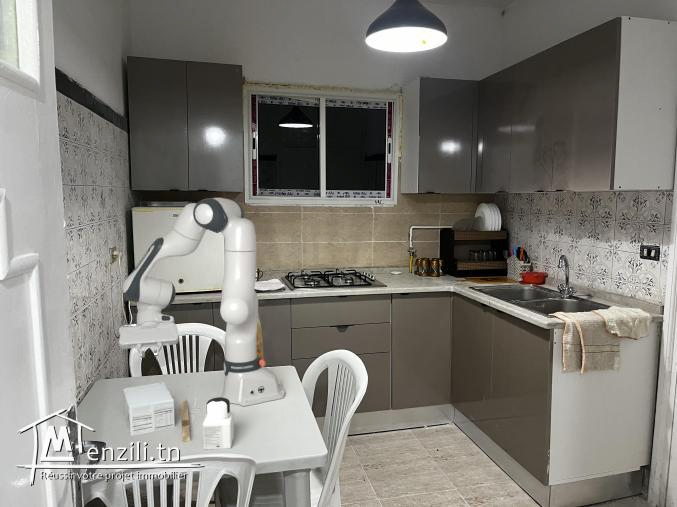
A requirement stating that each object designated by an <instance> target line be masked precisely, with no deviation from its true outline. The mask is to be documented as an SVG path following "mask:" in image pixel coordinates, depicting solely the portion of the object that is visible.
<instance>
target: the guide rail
mask: <svg viewBox="0 0 677 507" xmlns="http://www.w3.org/2000/svg"><path fill="white" fill-rule="evenodd" d="M188 408H189V407H188V400H181V401H180V415H181V416H180V417H181V433H182V434H181V435H182V442H183V443H184V441H185V442H190V441H191V439H190V438H191V437H190V436H191V434H190V421H189V420H190V419H189V410H188Z"/></svg>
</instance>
